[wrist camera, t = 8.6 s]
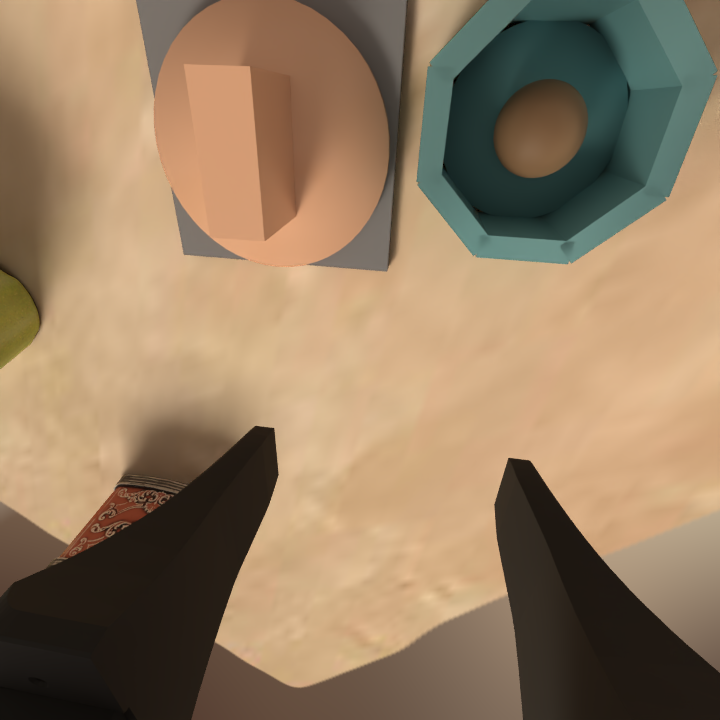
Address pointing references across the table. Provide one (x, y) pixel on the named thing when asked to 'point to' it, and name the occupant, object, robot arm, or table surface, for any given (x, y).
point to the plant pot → (15, 318)
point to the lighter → (122, 510)
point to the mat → (385, 58)
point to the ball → (540, 128)
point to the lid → (271, 130)
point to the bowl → (604, 132)
